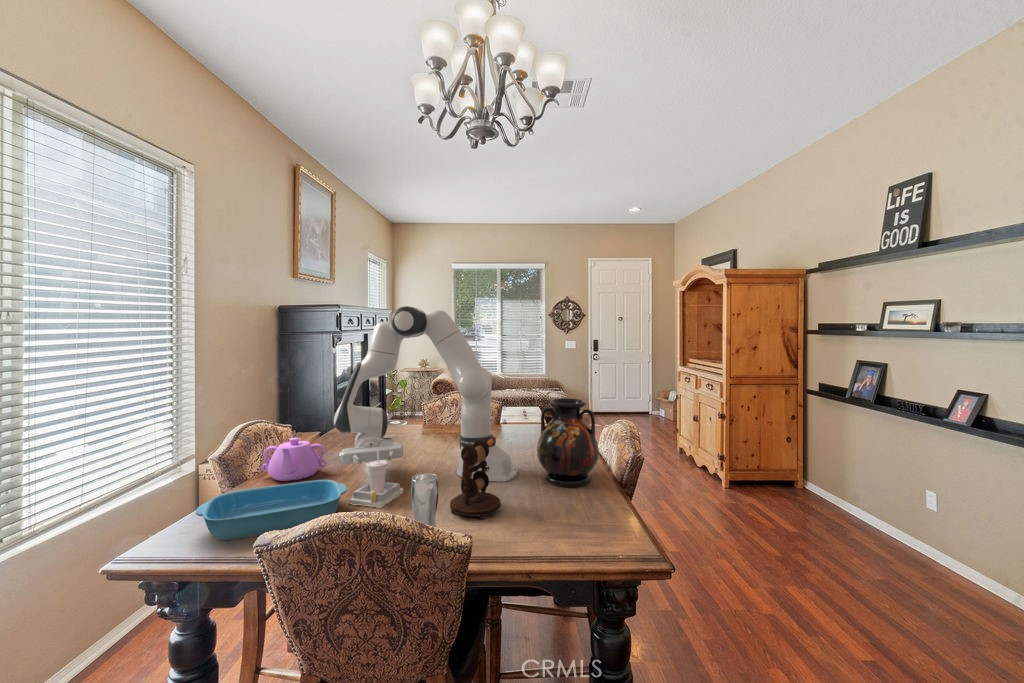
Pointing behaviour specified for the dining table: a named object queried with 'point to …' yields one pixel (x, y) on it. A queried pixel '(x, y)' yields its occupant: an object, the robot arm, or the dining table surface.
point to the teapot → (293, 460)
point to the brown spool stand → (475, 484)
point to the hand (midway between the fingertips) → (374, 459)
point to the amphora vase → (567, 444)
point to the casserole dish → (269, 508)
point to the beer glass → (425, 498)
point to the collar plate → (376, 495)
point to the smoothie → (377, 474)
